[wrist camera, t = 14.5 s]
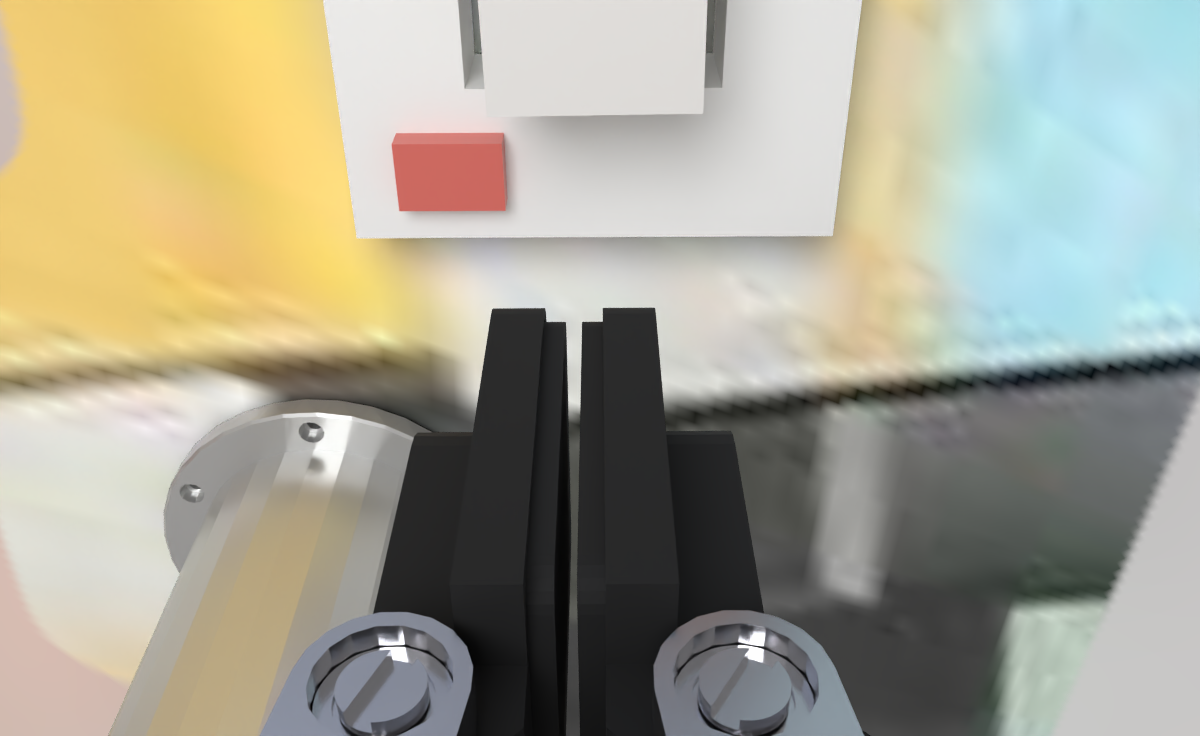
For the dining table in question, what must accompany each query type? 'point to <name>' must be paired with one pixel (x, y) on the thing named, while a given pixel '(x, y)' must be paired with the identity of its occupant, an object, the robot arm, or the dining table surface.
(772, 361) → the dining table surface
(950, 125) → the dining table surface
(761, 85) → the socket plate
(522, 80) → the plug
